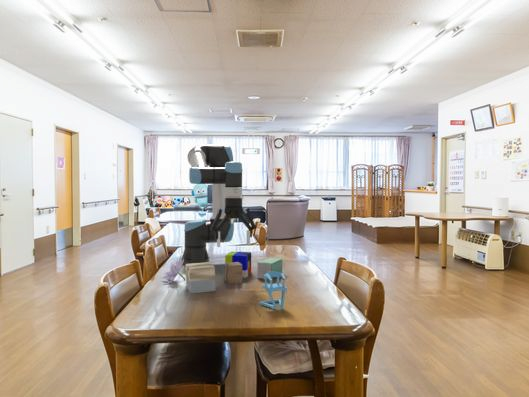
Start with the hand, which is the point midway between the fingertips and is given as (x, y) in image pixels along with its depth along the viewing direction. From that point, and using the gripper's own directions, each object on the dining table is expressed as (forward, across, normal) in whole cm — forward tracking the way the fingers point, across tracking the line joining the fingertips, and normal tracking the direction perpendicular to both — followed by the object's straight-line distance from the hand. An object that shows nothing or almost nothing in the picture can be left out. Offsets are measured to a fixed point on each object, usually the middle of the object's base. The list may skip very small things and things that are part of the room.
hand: (233, 245), depth 166 cm
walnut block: (+16, 0, 0) cm, 16 cm away
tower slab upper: (+11, -16, -6) cm, 20 cm away
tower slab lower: (+16, -16, -6) cm, 23 cm away
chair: (+16, +4, -37) cm, 40 cm away
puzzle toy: (+16, +6, +12) cm, 21 cm away
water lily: (+16, -24, +12) cm, 32 cm away
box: (+16, +19, +5) cm, 26 cm away
